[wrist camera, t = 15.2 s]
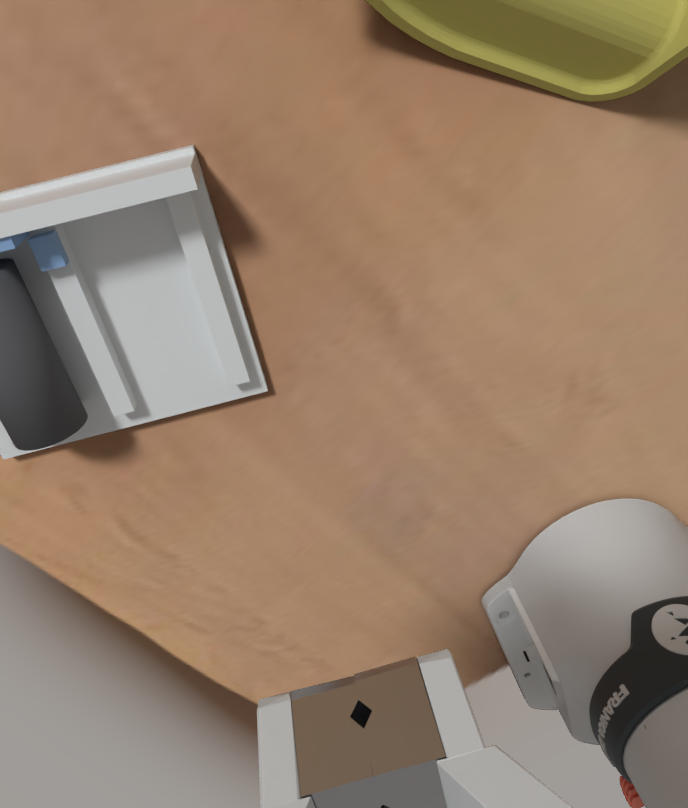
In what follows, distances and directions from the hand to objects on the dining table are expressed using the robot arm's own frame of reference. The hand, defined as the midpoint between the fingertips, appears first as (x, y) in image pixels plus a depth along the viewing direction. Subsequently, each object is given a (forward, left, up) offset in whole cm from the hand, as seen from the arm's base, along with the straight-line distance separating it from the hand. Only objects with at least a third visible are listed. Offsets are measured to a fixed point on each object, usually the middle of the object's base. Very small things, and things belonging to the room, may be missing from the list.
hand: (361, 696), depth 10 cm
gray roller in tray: (-2, +14, -28) cm, 32 cm away
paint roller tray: (-2, +10, -29) cm, 31 cm away
